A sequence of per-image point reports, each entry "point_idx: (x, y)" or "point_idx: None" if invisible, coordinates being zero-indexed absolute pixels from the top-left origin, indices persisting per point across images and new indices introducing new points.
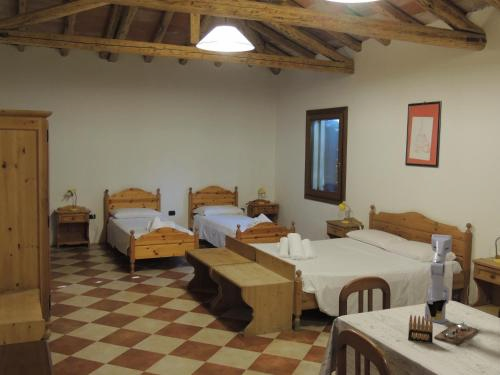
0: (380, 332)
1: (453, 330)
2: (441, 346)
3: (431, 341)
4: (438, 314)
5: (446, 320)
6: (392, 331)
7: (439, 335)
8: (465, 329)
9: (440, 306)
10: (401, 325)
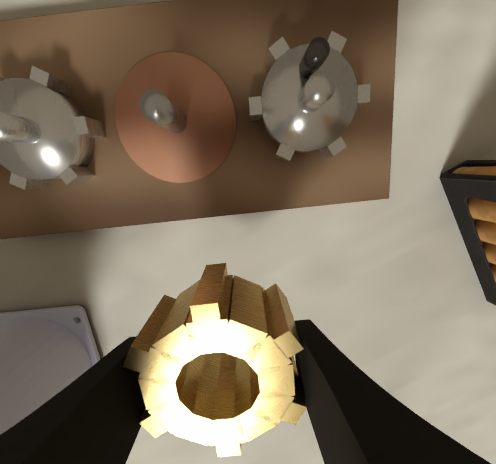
0: (490, 430)
1: (158, 163)
2: (484, 82)
3: (482, 166)
4: (260, 322)
5: (4, 314)
6: (434, 405)
7: (343, 182)
8: (61, 87)
9: (66, 461)
10: (311, 423)
